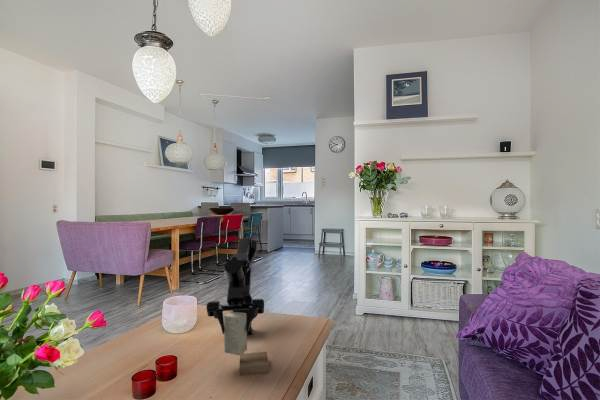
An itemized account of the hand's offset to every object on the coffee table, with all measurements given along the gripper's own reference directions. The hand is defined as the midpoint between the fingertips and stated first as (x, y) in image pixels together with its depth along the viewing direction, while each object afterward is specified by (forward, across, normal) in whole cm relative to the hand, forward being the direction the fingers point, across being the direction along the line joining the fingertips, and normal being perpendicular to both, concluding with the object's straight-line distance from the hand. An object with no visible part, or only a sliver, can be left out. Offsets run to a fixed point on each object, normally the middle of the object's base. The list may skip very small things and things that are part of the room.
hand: (235, 332), depth 103 cm
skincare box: (+4, 0, +6) cm, 7 cm away
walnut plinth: (+8, +6, +10) cm, 14 cm away
